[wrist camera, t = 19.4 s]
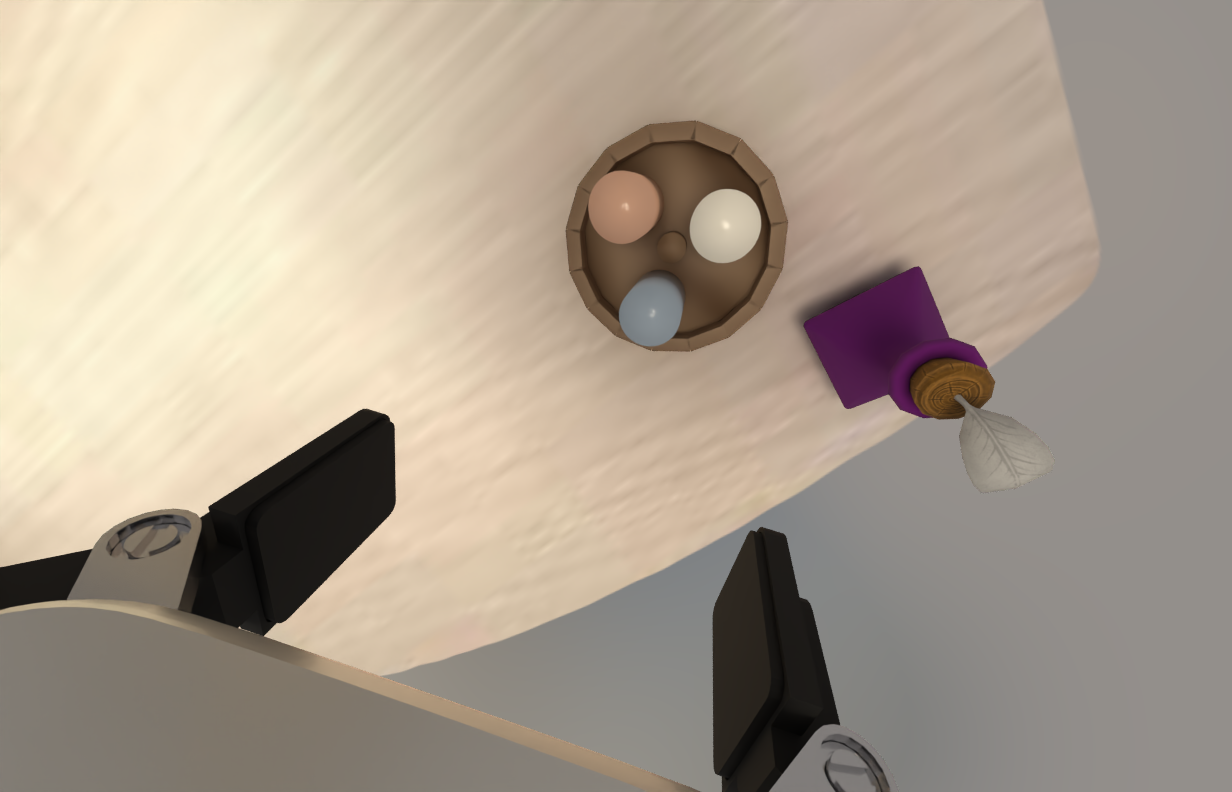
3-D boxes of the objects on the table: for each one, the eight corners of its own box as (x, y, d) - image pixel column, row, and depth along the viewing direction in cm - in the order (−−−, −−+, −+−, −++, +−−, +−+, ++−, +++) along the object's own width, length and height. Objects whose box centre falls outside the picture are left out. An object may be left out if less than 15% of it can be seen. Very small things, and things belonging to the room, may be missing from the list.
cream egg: (724, 175, 30) (727, 172, 24) (764, 219, 30) (776, 225, 25) (681, 222, 32) (675, 228, 26) (720, 262, 32) (722, 277, 27)
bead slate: (639, 263, 33) (626, 278, 28) (691, 277, 33) (688, 294, 28) (628, 314, 35) (613, 337, 30) (677, 327, 35) (671, 353, 29)
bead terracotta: (676, 203, 31) (669, 206, 26) (637, 246, 33) (623, 258, 27) (635, 160, 30) (619, 154, 25) (597, 206, 32) (575, 210, 27)
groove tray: (675, 71, 29) (672, 61, 26) (827, 240, 31) (835, 244, 29) (538, 247, 35) (527, 251, 33) (672, 376, 37) (670, 388, 35)
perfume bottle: (794, 311, 33) (871, 425, 17) (899, 257, 31) (1108, 333, 15) (834, 391, 35) (937, 560, 19) (937, 347, 33) (1158, 502, 17)
